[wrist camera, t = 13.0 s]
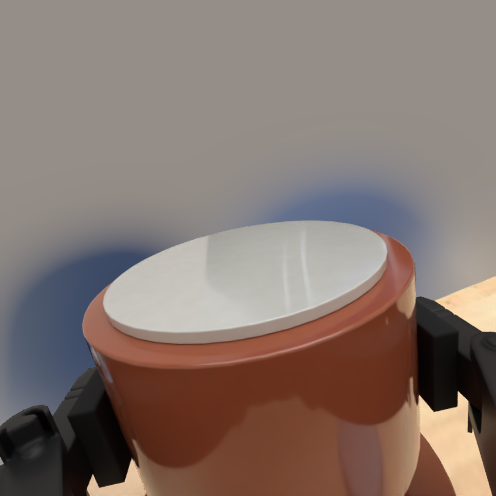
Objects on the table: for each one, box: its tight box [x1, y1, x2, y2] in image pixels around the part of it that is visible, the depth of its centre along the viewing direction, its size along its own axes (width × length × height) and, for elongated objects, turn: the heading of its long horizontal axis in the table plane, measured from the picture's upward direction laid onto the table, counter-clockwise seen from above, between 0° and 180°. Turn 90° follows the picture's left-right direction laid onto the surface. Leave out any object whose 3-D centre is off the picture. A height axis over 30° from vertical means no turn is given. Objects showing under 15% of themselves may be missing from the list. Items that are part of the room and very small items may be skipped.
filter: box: [82, 221, 456, 496], centre depth 11 cm, size 13×12×10 cm
